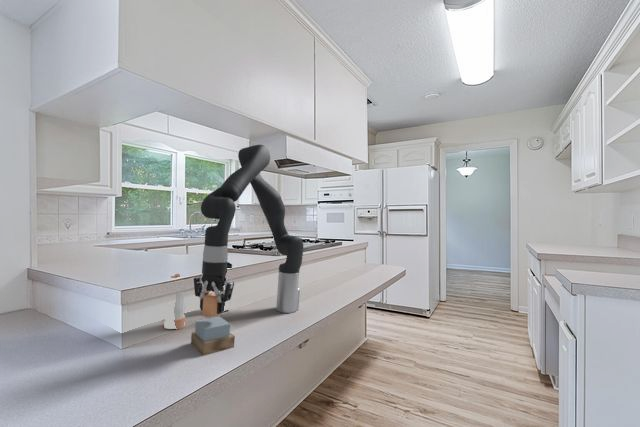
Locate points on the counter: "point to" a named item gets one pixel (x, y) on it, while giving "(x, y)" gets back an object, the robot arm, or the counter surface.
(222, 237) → the robot arm
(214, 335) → the slate top block
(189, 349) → the counter surface
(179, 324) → the salt shaker
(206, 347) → the walnut base block
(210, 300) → the terracotta drum
